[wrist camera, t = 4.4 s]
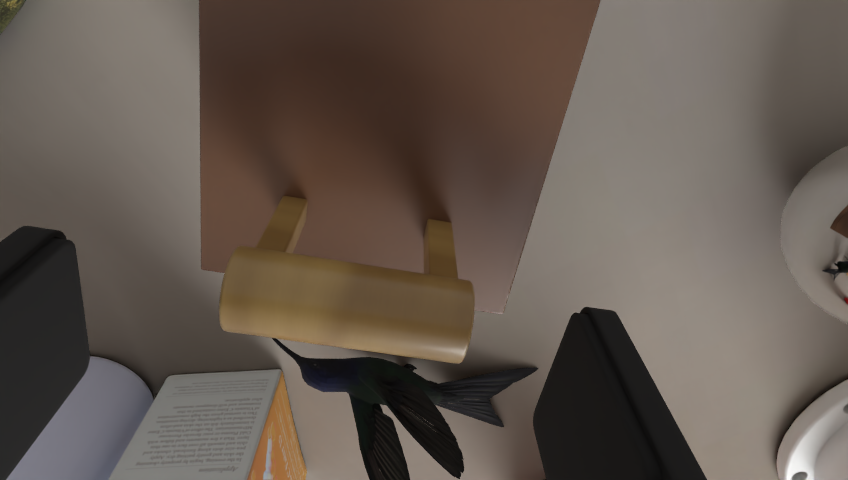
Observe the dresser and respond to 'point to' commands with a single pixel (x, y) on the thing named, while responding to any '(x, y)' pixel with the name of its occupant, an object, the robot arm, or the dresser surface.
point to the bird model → (404, 407)
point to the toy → (820, 234)
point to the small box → (216, 431)
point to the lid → (377, 161)
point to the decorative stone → (8, 11)
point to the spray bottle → (89, 426)
